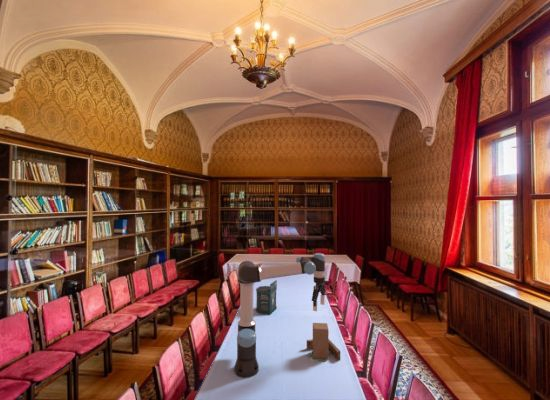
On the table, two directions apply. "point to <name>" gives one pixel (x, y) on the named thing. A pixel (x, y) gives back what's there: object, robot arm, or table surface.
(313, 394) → the table surface
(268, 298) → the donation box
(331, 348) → the wooden corner bracket
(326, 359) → the pad
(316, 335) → the wooden block
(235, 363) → the robot arm
